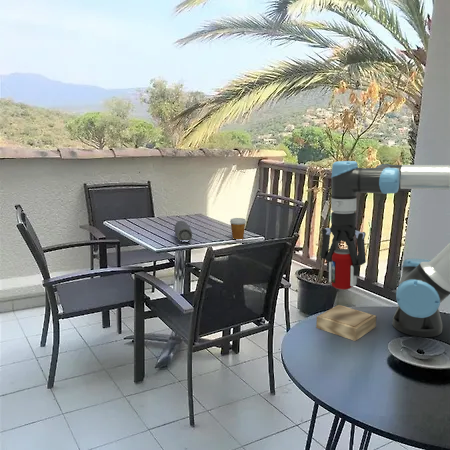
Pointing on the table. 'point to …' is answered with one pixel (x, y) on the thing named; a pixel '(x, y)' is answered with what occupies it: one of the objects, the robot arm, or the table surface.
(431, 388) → the table surface
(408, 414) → the table surface
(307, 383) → the table surface
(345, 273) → the beverage can
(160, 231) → the table surface
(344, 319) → the square tray
